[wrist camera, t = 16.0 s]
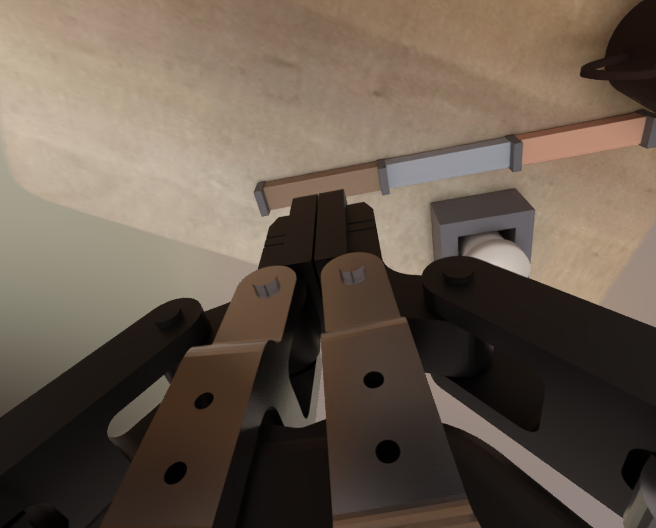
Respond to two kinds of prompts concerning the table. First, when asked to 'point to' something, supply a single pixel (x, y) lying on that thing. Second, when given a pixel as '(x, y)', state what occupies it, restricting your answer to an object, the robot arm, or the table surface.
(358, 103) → the table surface
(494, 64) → the table surface
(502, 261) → the dome plunger
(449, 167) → the slate segment
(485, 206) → the dome housing
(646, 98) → the coffee mug
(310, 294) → the robot arm
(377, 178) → the walnut segment
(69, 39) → the table surface
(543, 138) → the terracotta segment
